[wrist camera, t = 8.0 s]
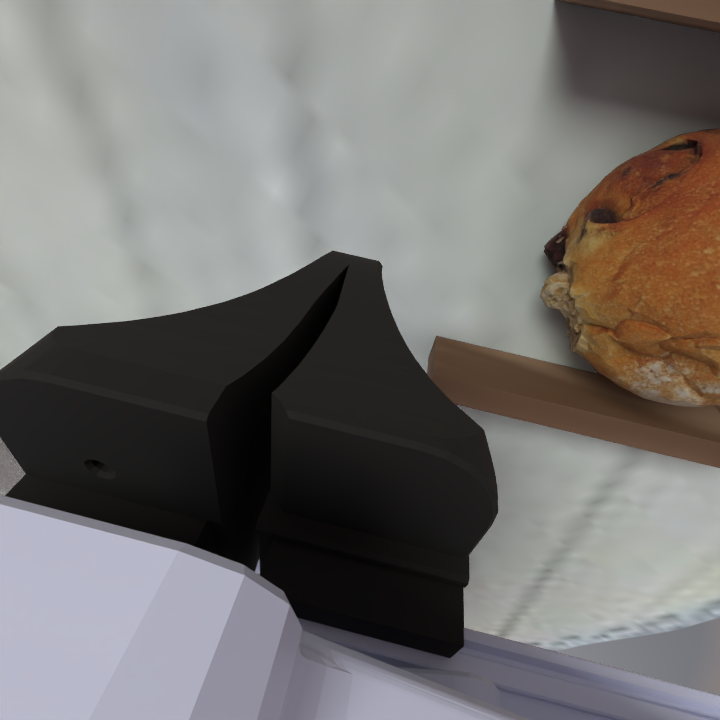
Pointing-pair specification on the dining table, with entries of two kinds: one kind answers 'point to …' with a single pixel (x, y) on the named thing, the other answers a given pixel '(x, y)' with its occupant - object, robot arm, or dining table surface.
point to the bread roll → (647, 273)
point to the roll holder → (573, 386)
